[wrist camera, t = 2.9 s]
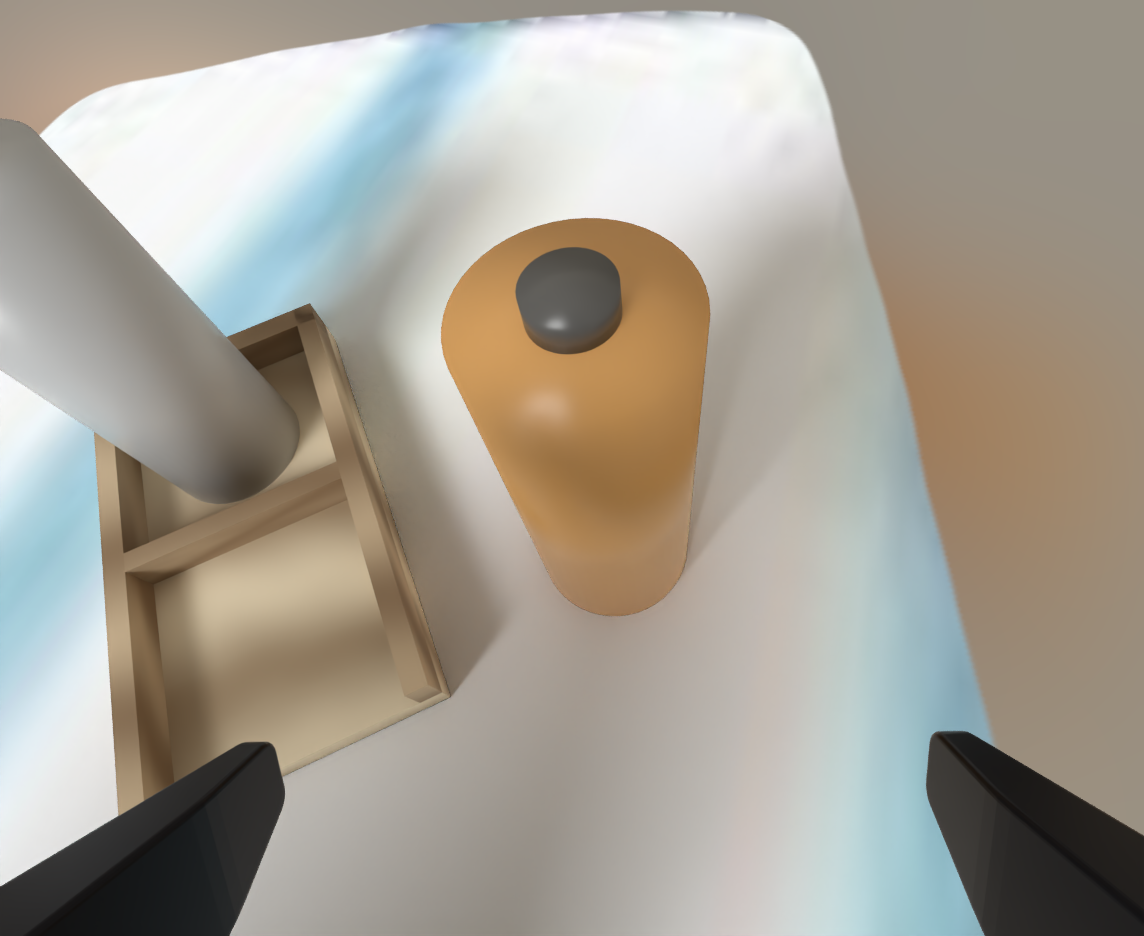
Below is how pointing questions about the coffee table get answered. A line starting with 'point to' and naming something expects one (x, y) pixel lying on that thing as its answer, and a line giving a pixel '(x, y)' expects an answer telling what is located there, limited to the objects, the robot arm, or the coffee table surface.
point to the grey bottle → (125, 338)
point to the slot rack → (261, 592)
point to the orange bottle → (588, 398)
